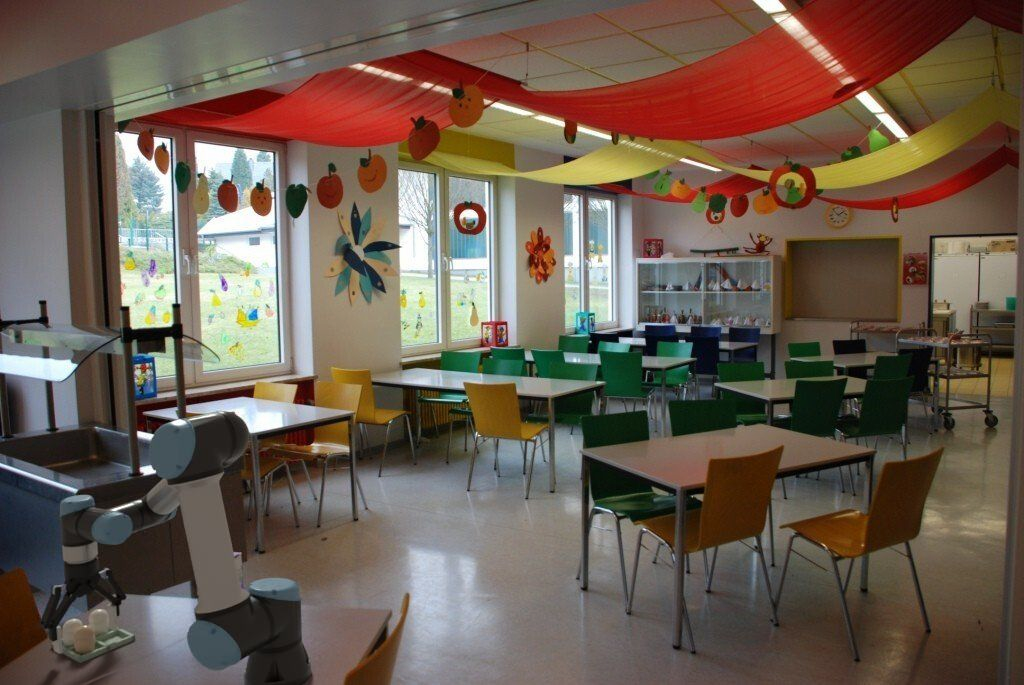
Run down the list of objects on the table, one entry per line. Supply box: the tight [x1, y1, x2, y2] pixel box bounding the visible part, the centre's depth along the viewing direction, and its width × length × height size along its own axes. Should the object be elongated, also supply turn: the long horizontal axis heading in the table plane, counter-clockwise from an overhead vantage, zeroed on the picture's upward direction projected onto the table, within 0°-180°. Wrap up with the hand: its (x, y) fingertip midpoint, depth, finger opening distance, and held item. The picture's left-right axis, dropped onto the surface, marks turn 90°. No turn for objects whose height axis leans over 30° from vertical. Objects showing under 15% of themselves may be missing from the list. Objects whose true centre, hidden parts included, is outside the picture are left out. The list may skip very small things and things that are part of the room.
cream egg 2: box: [88, 608, 110, 637], centre depth 204 cm, size 5×5×7 cm
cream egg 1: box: [61, 618, 84, 649], centre depth 198 cm, size 5×5×7 cm
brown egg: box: [74, 624, 96, 656], centre depth 194 cm, size 5×5×7 cm
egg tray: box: [50, 626, 136, 664], centre depth 199 cm, size 14×14×2 cm
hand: (86, 640), depth 194 cm, fingers open, 13 cm apart
